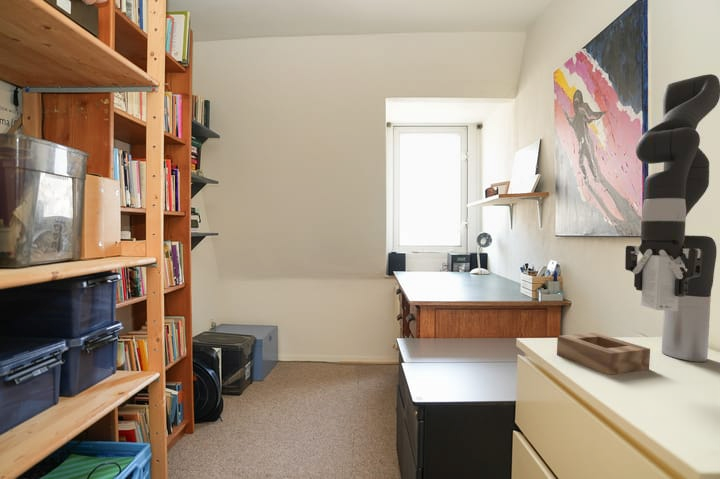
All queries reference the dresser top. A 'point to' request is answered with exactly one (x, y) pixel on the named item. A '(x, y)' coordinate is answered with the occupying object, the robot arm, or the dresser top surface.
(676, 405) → the dresser top surface
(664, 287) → the skincare box
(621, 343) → the socket block
